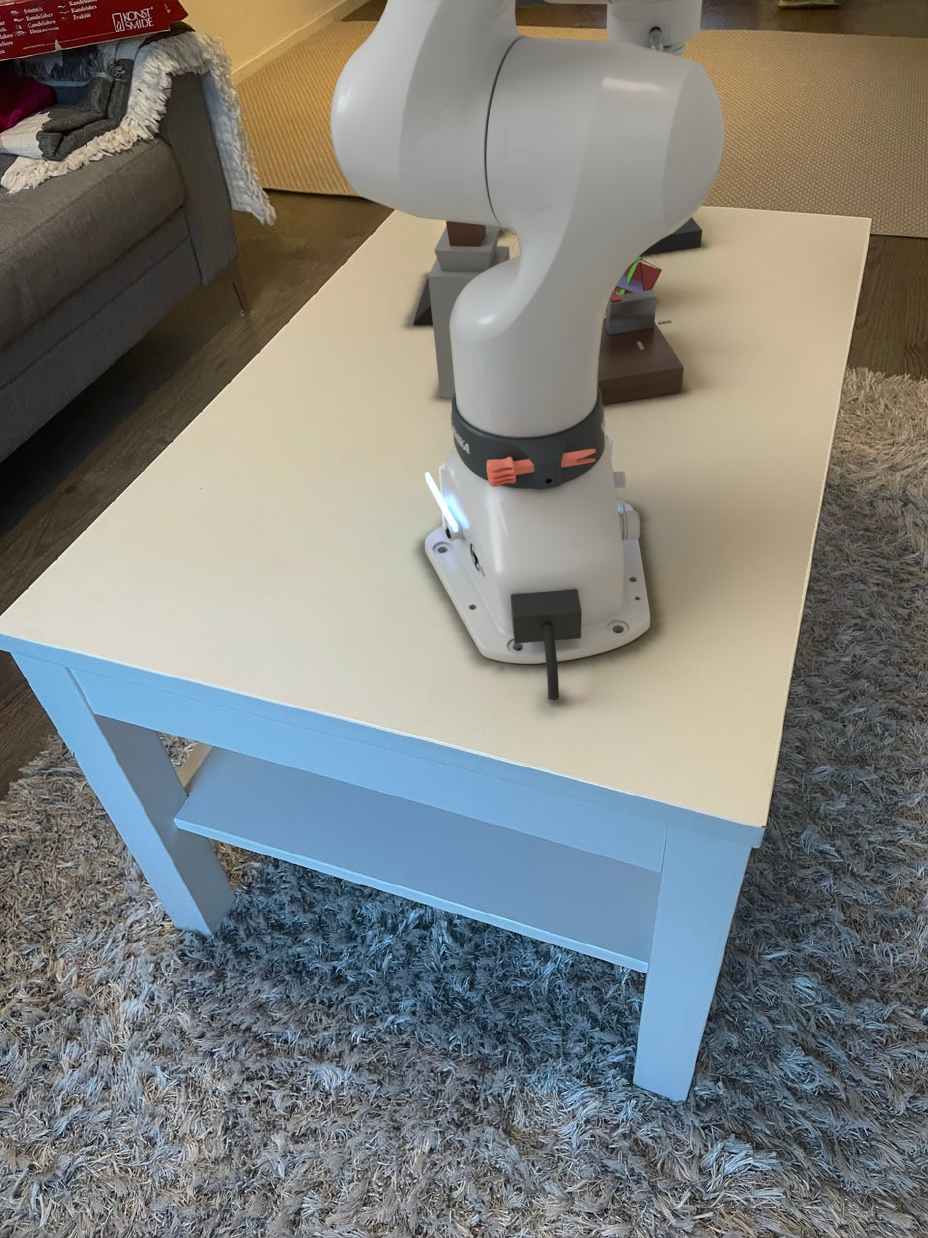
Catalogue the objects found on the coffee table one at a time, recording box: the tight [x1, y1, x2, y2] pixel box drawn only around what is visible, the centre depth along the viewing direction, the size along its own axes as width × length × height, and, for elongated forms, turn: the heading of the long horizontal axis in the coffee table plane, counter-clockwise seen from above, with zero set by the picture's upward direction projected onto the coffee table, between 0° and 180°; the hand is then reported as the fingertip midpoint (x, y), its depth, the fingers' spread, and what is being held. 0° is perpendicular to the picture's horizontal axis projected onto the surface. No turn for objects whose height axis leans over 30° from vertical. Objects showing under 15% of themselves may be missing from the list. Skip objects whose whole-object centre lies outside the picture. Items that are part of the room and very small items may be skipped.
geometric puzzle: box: [612, 252, 663, 295], centre depth 111 cm, size 7×7×8 cm
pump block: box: [640, 216, 703, 257], centre depth 124 cm, size 12×10×4 cm
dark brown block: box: [598, 317, 685, 406], centre depth 103 cm, size 14×12×3 cm
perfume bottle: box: [427, 221, 511, 399], centre depth 97 cm, size 7×7×18 cm
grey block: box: [605, 289, 658, 335], centre depth 102 cm, size 5×2×4 cm, turn 100°
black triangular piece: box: [411, 257, 437, 327], centre depth 115 cm, size 12×7×5 cm, turn 173°
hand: (645, 162), depth 101 cm, fingers open, 8 cm apart
